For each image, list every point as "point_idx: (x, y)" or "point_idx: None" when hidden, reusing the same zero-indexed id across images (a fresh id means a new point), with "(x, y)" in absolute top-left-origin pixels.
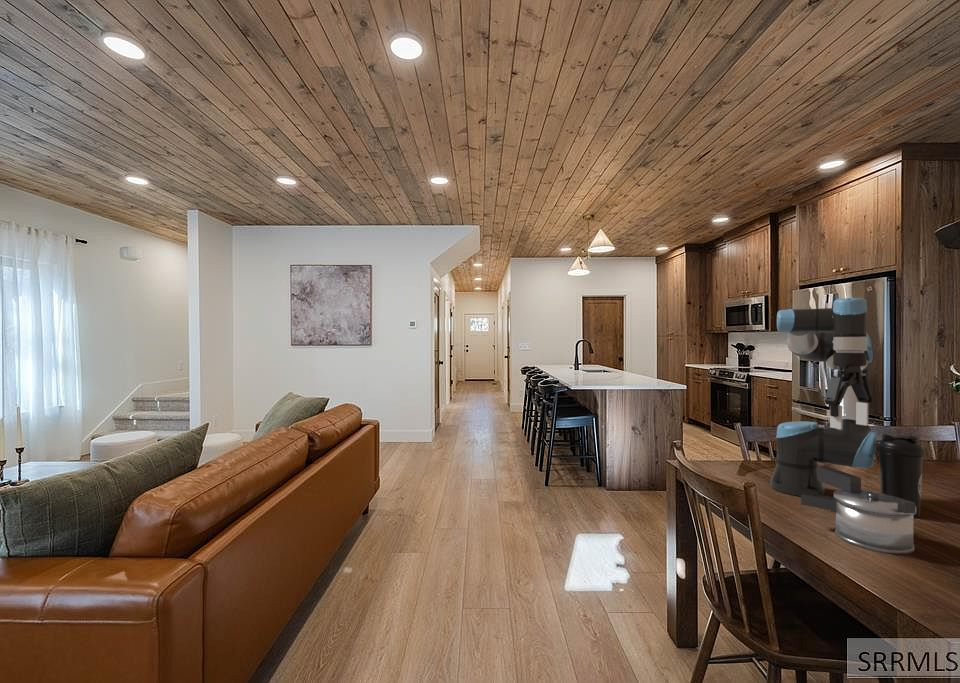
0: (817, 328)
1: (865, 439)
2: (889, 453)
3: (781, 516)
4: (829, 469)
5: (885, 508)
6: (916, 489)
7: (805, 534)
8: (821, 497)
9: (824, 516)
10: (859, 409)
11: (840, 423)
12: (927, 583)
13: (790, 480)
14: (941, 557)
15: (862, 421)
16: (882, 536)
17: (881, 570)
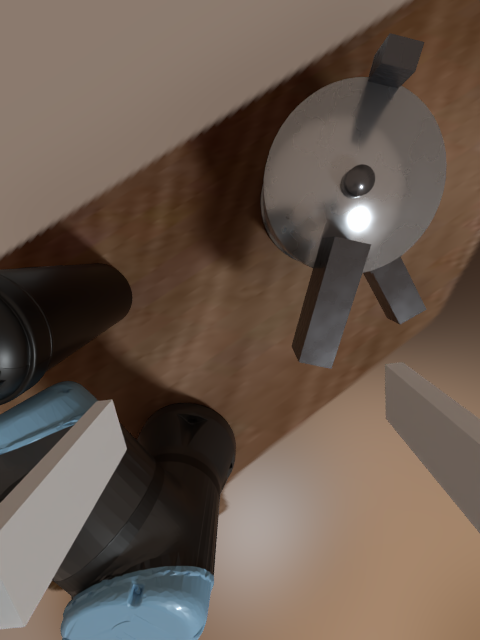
0: None
1: (27, 439)
2: (47, 334)
3: (369, 343)
4: (328, 335)
5: (411, 112)
6: (63, 266)
7: (419, 261)
8: (403, 276)
9: (284, 320)
10: (63, 524)
11: (425, 379)
12: (444, 20)
13: (225, 450)
14: (280, 99)
15: (107, 434)
16: None
17: (463, 91)
